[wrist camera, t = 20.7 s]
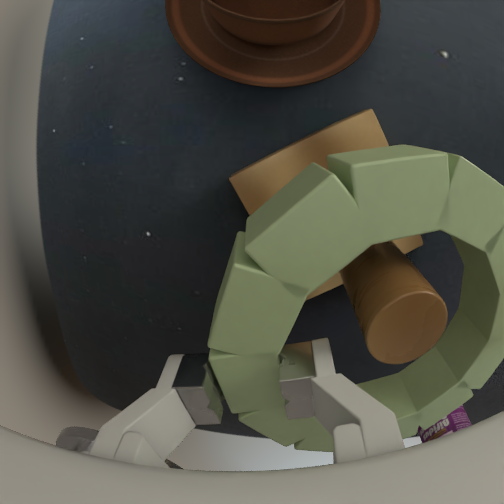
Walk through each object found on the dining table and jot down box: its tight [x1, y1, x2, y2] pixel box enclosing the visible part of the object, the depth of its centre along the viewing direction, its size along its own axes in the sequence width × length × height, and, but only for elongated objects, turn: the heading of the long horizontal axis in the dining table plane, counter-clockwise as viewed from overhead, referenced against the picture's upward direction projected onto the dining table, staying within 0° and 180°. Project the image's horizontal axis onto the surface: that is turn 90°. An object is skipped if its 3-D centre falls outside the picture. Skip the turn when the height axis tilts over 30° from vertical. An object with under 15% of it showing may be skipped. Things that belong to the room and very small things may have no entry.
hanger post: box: [229, 109, 447, 364], centre depth 13 cm, size 9×9×12 cm
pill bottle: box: [418, 405, 471, 443], centre depth 21 cm, size 5×5×10 cm
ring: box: [208, 144, 504, 452], centre depth 9 cm, size 12×12×2 cm
